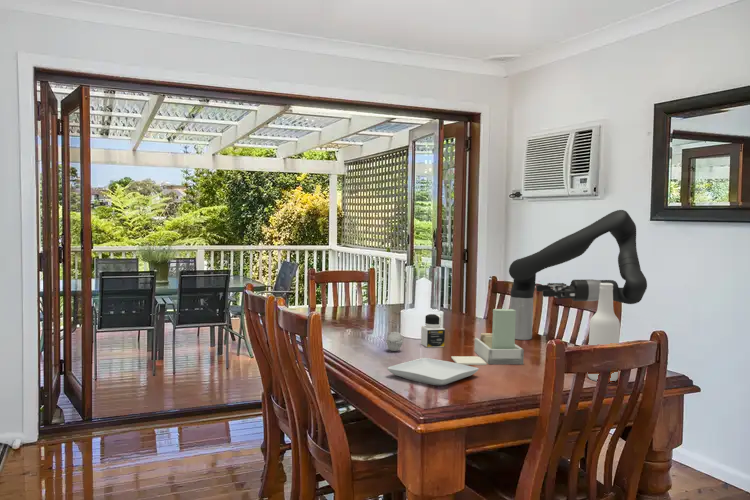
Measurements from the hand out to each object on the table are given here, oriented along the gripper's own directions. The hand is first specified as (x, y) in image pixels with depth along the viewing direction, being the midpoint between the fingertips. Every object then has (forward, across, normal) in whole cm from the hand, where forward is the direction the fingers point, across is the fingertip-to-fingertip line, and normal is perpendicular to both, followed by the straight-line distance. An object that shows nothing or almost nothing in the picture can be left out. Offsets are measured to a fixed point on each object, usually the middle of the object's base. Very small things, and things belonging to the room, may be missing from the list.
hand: (539, 290), depth 211 cm
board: (+13, -5, -22) cm, 26 cm away
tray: (+14, +1, -24) cm, 28 cm away
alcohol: (-14, -26, -23) cm, 37 cm away
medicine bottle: (+36, +19, -25) cm, 48 cm away
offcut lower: (+15, +7, -23) cm, 28 cm away
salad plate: (+39, -28, -21) cm, 53 cm away
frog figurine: (+51, +7, -24) cm, 57 cm away
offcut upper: (+14, +7, -20) cm, 26 cm away
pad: (+25, -6, -23) cm, 35 cm away
